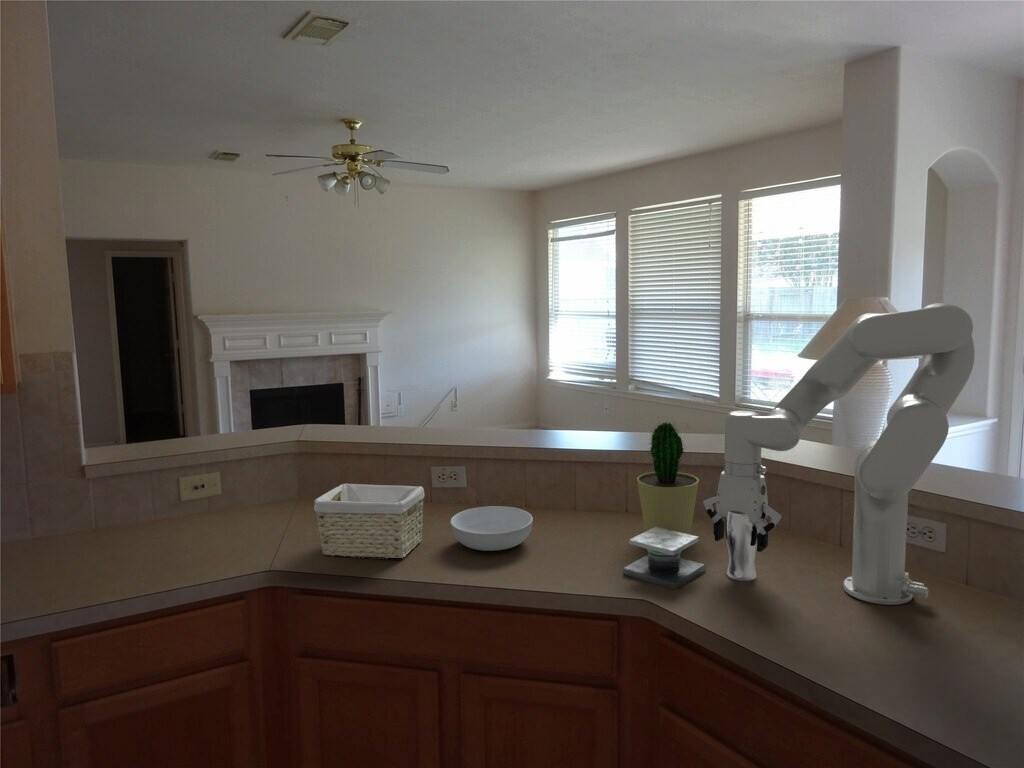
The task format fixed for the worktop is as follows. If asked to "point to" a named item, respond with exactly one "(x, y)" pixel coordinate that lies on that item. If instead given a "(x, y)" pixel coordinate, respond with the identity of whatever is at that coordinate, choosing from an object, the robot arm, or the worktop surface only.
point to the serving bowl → (491, 527)
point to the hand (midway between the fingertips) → (739, 544)
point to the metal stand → (664, 558)
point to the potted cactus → (667, 485)
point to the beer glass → (741, 546)
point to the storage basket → (370, 520)
